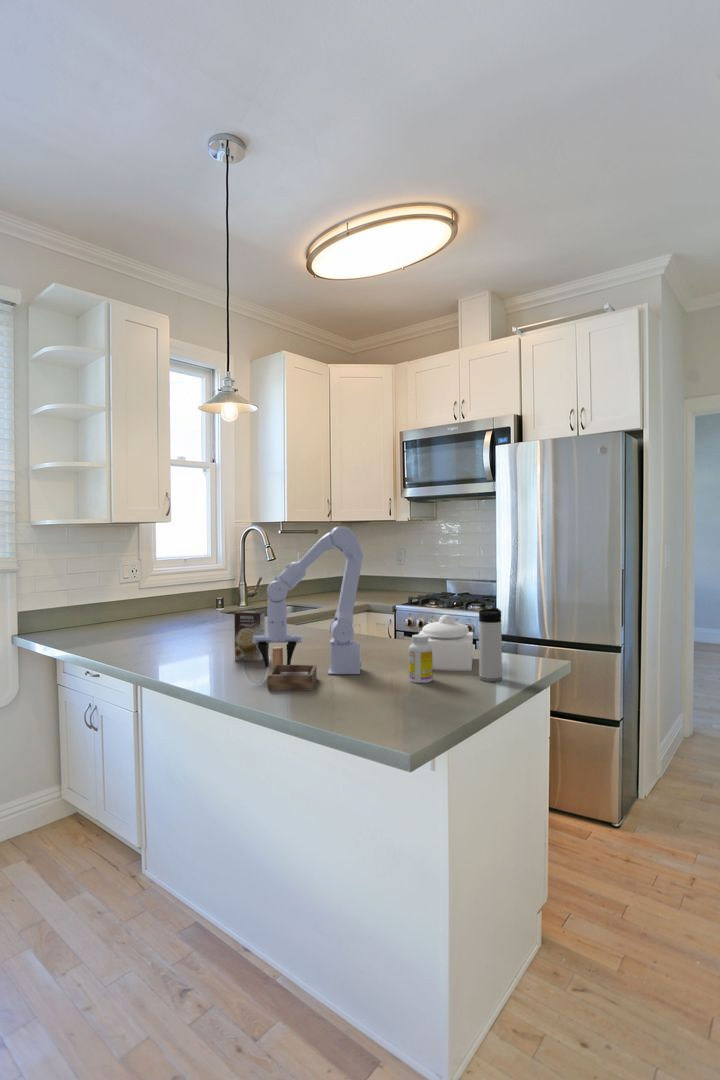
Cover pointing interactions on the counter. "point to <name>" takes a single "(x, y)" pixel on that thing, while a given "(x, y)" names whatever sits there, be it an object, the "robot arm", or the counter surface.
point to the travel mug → (490, 645)
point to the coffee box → (248, 634)
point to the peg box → (292, 677)
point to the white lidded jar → (450, 644)
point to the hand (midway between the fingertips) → (277, 666)
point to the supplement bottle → (420, 659)
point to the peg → (277, 656)
